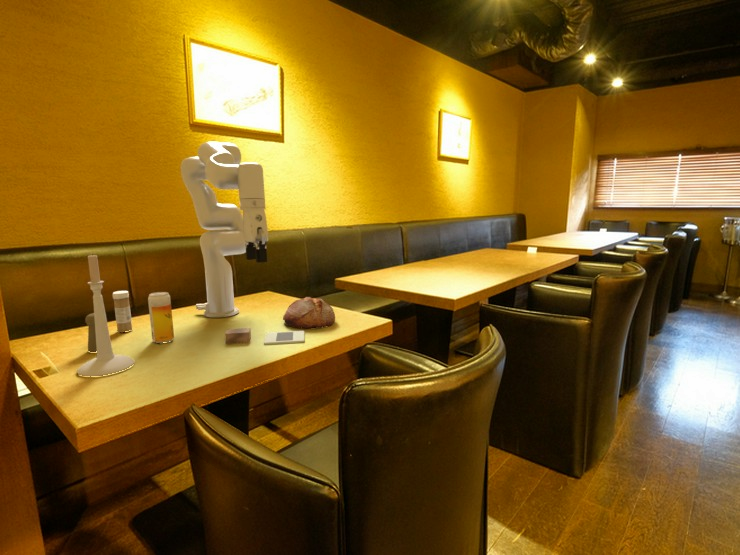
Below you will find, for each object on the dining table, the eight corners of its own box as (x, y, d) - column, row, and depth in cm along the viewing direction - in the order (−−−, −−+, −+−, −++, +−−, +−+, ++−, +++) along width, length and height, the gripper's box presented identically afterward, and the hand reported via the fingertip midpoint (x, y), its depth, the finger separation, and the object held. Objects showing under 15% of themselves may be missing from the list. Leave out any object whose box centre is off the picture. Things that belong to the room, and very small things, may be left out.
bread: (324, 335, 140) (322, 306, 137) (273, 329, 147) (270, 301, 144) (345, 319, 154) (344, 292, 152) (297, 314, 162) (296, 288, 159)
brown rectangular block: (225, 345, 129) (225, 333, 128) (227, 340, 133) (226, 329, 132) (249, 343, 130) (249, 332, 129) (250, 338, 134) (250, 327, 134)
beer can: (177, 340, 132) (173, 293, 129) (157, 345, 128) (152, 297, 125) (169, 336, 136) (165, 290, 133) (149, 341, 132) (144, 293, 129)
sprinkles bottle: (126, 328, 145) (121, 289, 143) (136, 330, 143) (131, 290, 141) (113, 332, 141) (108, 292, 138) (123, 334, 139) (119, 293, 137)
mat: (263, 344, 128) (263, 342, 128) (266, 334, 138) (266, 332, 137) (304, 342, 130) (304, 340, 129) (304, 332, 139) (304, 330, 139)
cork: (86, 355, 121) (81, 317, 119) (89, 348, 126) (84, 312, 124) (111, 351, 123) (106, 314, 121) (112, 345, 129) (108, 309, 127)
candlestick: (71, 381, 103) (54, 258, 97) (83, 363, 115) (67, 252, 109) (132, 372, 108) (118, 255, 102) (136, 356, 120) (124, 249, 114)
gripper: (274, 204, 125) (278, 262, 128) (255, 205, 139) (259, 257, 142) (249, 204, 121) (253, 264, 124) (232, 205, 135) (236, 259, 138)
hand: (256, 260), depth 133 cm, fingers open, 9 cm apart
